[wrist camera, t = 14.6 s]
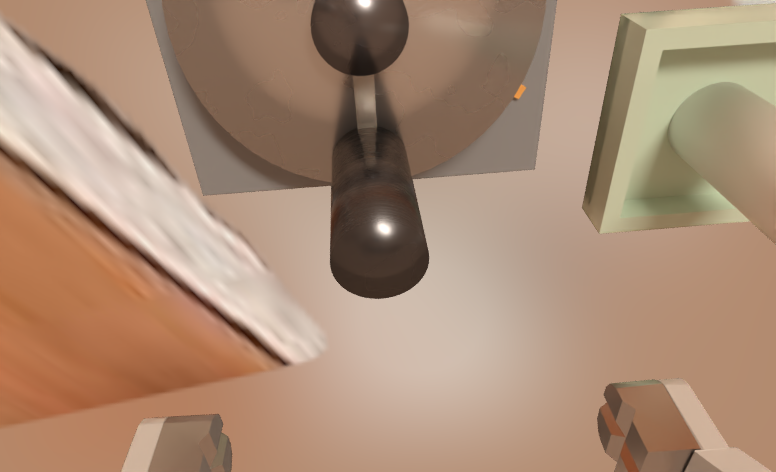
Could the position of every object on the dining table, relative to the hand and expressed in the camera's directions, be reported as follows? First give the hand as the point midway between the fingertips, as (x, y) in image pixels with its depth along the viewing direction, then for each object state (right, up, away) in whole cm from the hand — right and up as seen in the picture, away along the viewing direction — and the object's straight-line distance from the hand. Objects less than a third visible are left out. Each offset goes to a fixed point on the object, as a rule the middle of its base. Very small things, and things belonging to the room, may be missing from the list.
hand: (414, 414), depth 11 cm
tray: (+13, +9, +13) cm, 21 cm away
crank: (-2, +11, +7) cm, 13 cm away
